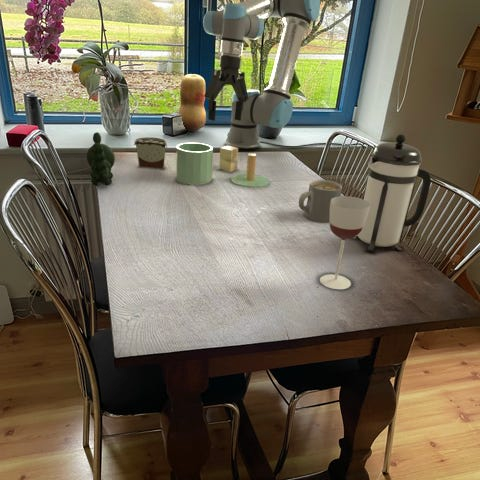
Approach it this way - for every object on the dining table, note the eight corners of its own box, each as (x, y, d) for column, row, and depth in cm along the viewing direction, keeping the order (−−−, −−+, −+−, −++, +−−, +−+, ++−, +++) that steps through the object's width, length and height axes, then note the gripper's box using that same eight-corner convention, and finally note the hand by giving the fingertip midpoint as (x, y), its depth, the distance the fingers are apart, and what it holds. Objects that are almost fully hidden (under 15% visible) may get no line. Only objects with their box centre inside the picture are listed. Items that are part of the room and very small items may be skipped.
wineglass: (314, 273, 124) (327, 195, 113) (348, 274, 125) (364, 196, 114) (321, 289, 117) (335, 208, 106) (357, 290, 118) (375, 209, 107)
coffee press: (397, 261, 133) (428, 146, 116) (342, 245, 139) (363, 134, 123) (415, 240, 145) (445, 134, 129) (363, 226, 152) (385, 123, 136)
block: (226, 167, 195) (227, 145, 191) (237, 170, 193) (238, 147, 189) (219, 170, 191) (220, 147, 187) (230, 173, 189) (231, 150, 185)
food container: (170, 165, 193) (170, 138, 188) (167, 169, 188) (166, 142, 183) (139, 162, 194) (138, 135, 188) (135, 166, 189) (133, 139, 183)
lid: (254, 175, 189) (256, 147, 184) (276, 185, 180) (279, 157, 174) (223, 179, 182) (225, 151, 177) (245, 191, 173) (247, 161, 167)
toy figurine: (116, 196, 166) (115, 167, 185) (112, 139, 154) (111, 114, 173) (87, 196, 164) (89, 167, 183) (80, 138, 152) (83, 113, 171)
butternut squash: (188, 135, 235) (189, 77, 221) (172, 129, 243) (171, 73, 229) (211, 132, 243) (213, 76, 229) (195, 127, 251) (195, 72, 237)
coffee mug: (330, 210, 162) (335, 180, 157) (341, 222, 154) (347, 190, 149) (291, 210, 160) (295, 179, 154) (300, 222, 152) (304, 190, 146)
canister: (200, 172, 187) (201, 141, 181) (218, 182, 179) (219, 150, 173) (170, 177, 181) (170, 144, 175) (187, 187, 173) (187, 153, 166)
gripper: (212, 53, 164) (207, 121, 174) (262, 59, 180) (254, 121, 190) (197, 51, 168) (192, 118, 178) (247, 57, 185) (240, 118, 195)
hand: (224, 120), depth 184 cm, fingers open, 13 cm apart
